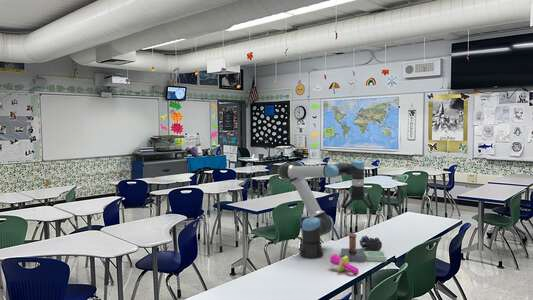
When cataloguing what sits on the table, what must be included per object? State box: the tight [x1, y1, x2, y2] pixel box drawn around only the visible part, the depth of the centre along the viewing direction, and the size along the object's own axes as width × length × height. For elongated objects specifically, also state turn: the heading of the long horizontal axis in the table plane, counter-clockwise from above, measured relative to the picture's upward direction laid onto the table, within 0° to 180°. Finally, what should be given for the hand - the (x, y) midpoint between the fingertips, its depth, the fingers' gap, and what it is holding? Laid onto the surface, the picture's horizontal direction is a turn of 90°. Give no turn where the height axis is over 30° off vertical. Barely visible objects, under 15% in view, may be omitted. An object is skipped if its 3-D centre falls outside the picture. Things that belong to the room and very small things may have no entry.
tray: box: [364, 250, 388, 263], centre depth 259 cm, size 12×10×3 cm
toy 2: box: [359, 235, 383, 251], centre depth 276 cm, size 9×9×15 cm
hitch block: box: [340, 247, 366, 263], centre depth 261 cm, size 14×14×4 cm
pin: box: [348, 233, 357, 253], centre depth 261 cm, size 5×5×15 cm
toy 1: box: [329, 253, 360, 274], centre depth 239 cm, size 10×18×10 cm, turn 52°
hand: (357, 218), depth 262 cm, fingers open, 13 cm apart
